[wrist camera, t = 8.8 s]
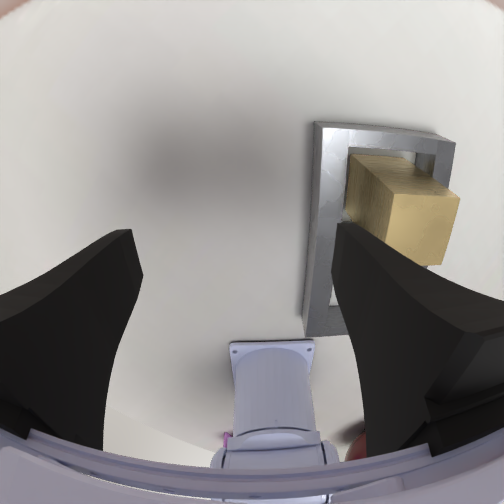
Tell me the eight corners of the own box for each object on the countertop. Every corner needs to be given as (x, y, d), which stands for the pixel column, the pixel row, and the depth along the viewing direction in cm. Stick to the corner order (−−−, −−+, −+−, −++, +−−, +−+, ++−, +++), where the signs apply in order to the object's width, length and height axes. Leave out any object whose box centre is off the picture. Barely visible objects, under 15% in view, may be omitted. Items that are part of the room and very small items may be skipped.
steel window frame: (395, 309, 25) (404, 328, 23) (301, 316, 26) (305, 337, 24) (436, 134, 17) (455, 142, 15) (314, 121, 17) (322, 127, 15)
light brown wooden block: (395, 210, 20) (441, 264, 14) (345, 209, 20) (379, 267, 14) (403, 157, 18) (460, 198, 12) (350, 153, 18) (394, 193, 12)
